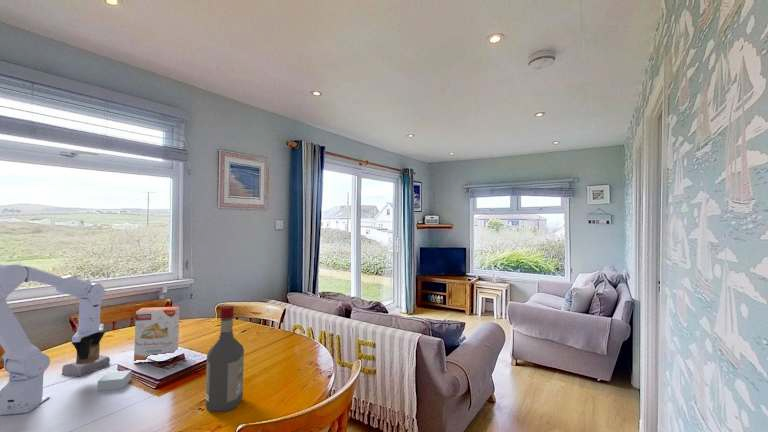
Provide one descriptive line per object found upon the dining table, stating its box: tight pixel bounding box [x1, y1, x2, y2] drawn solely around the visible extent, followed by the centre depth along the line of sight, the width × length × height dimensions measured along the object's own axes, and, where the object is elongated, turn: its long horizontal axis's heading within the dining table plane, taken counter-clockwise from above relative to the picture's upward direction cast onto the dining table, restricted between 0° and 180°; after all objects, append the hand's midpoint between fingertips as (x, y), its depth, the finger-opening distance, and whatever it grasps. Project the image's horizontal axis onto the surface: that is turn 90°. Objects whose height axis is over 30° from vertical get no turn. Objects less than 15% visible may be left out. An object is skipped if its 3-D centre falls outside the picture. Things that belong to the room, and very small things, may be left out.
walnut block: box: [75, 343, 101, 364], centre depth 120 cm, size 4×4×5 cm
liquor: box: [204, 305, 245, 413], centre depth 106 cm, size 9×9×30 cm
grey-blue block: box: [96, 369, 132, 392], centre depth 117 cm, size 7×7×4 cm
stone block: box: [61, 354, 111, 377], centre depth 129 cm, size 12×5×10 cm
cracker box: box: [133, 306, 180, 362], centre depth 138 cm, size 14×6×21 cm, turn 105°
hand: (87, 356), depth 119 cm, fingers closed on walnut block, 4 cm apart
